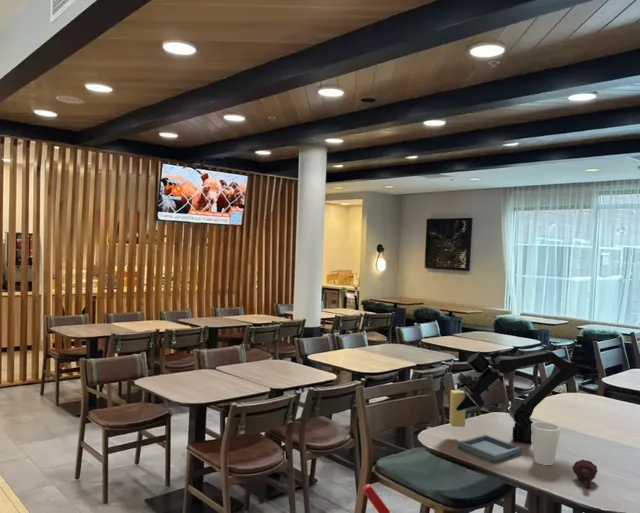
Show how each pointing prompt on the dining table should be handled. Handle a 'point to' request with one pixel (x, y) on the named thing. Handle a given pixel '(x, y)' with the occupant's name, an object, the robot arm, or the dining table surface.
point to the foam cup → (545, 442)
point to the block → (456, 416)
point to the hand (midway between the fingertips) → (455, 407)
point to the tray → (489, 448)
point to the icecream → (585, 471)
